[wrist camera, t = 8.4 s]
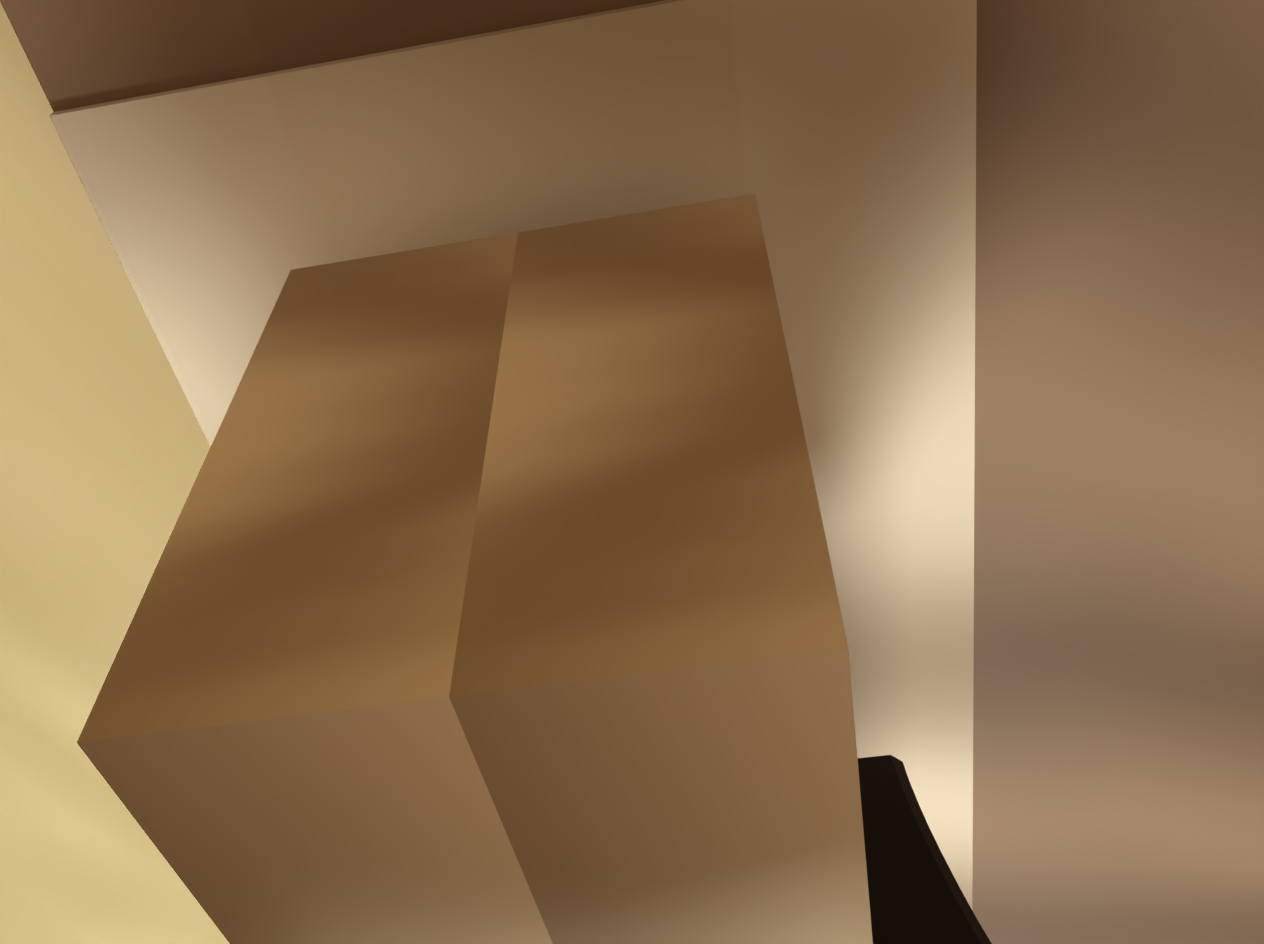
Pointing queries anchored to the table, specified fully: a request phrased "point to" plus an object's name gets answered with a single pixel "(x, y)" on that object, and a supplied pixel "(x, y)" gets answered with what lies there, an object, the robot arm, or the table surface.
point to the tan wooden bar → (505, 611)
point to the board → (834, 340)
